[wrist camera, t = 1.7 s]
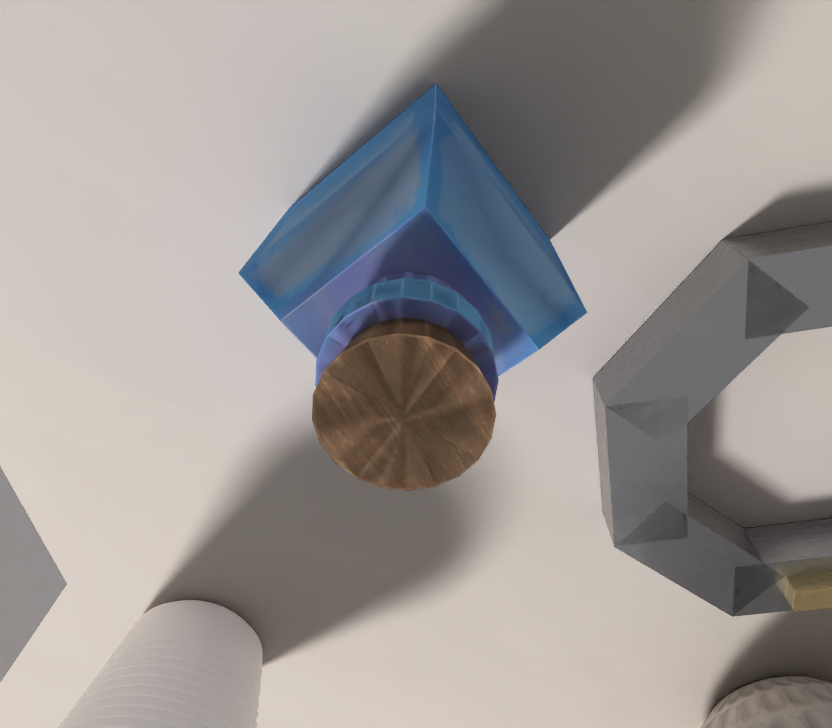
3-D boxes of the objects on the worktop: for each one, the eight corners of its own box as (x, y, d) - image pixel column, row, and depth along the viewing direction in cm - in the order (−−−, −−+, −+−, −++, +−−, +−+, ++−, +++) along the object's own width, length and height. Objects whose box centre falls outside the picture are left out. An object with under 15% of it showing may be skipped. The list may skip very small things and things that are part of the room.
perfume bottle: (549, 239, 22) (654, 444, 11) (406, 342, 24) (381, 599, 13) (435, 82, 20) (434, 154, 9) (288, 209, 22) (147, 389, 11)
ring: (584, 262, 22) (602, 292, 20) (1085, 179, 21) (1174, 201, 18) (608, 591, 29) (624, 644, 27) (984, 549, 28) (1038, 601, 25)
